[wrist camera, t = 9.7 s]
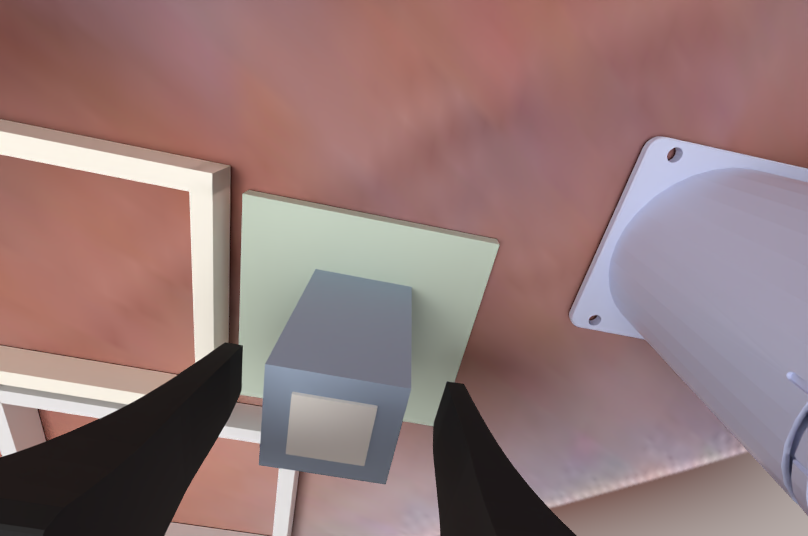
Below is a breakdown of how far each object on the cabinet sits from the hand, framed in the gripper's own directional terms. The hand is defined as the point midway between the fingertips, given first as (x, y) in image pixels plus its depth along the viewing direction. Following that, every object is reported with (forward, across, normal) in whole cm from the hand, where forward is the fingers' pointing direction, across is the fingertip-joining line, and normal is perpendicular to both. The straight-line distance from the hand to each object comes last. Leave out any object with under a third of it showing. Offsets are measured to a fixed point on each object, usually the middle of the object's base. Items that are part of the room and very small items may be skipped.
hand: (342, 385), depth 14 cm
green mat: (+4, 0, 0) cm, 4 cm away
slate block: (+4, 0, 0) cm, 4 cm away
